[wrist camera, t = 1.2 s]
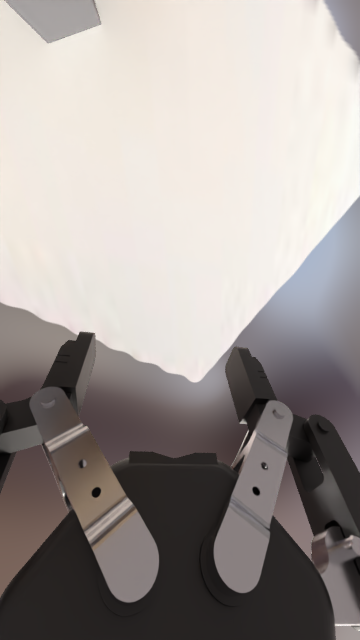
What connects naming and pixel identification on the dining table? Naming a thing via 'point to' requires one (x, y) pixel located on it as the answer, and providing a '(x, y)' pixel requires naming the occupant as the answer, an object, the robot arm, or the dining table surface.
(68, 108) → the dining table surface
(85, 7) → the step
